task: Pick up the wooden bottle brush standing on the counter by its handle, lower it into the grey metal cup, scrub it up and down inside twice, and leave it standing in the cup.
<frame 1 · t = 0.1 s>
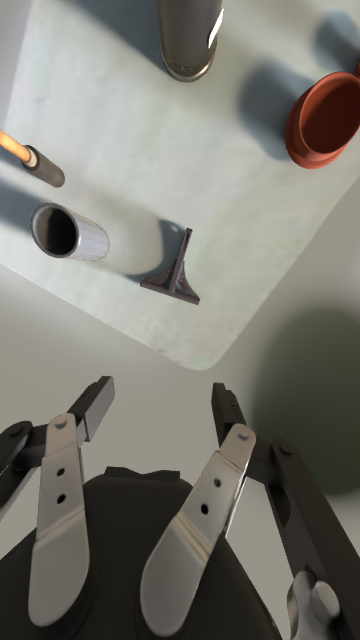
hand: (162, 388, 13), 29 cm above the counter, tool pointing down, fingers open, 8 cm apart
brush: (56, 177, 34), on the counter
grey metal cup: (91, 242, 37), on the counter
pottery: (329, 113, 30), on the counter
bracket: (179, 264, 38), on the counter
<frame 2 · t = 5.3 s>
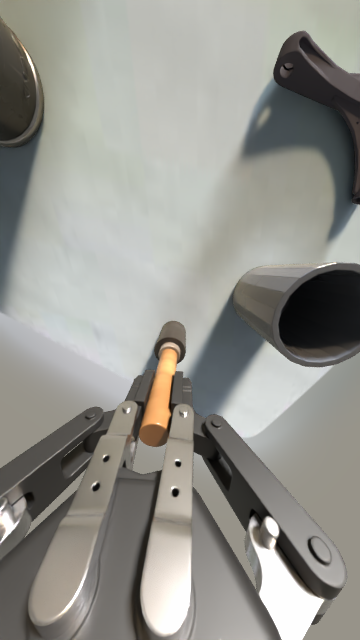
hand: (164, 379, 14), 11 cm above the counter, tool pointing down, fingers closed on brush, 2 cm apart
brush: (173, 332, 25), on the counter, touching gripper
grey metal cup: (262, 296, 23), on the counter
bracket: (338, 102, 17), on the counter
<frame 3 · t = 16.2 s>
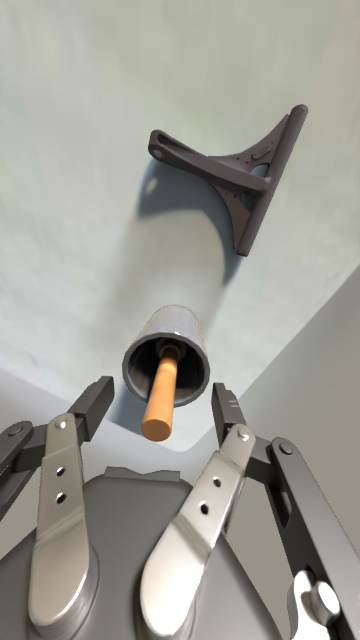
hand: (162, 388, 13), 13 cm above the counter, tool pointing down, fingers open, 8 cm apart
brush: (174, 331, 25), point 1 cm above the counter, touching grey metal cup
grey metal cup: (174, 330, 26), on the counter
bracket: (212, 174, 20), on the counter
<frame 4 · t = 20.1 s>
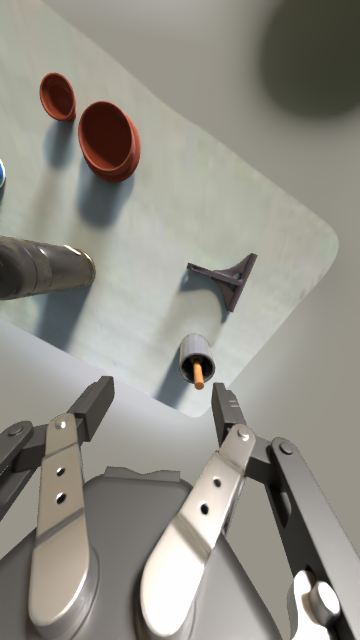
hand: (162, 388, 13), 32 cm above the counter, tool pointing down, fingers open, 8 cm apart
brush: (194, 347, 47), point 1 cm above the counter, touching grey metal cup
grey metal cup: (194, 346, 47), on the counter
pottery: (98, 139, 34), on the counter
bracket: (215, 274, 41), on the counter
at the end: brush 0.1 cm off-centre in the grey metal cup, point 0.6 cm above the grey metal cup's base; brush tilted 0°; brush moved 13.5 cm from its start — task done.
